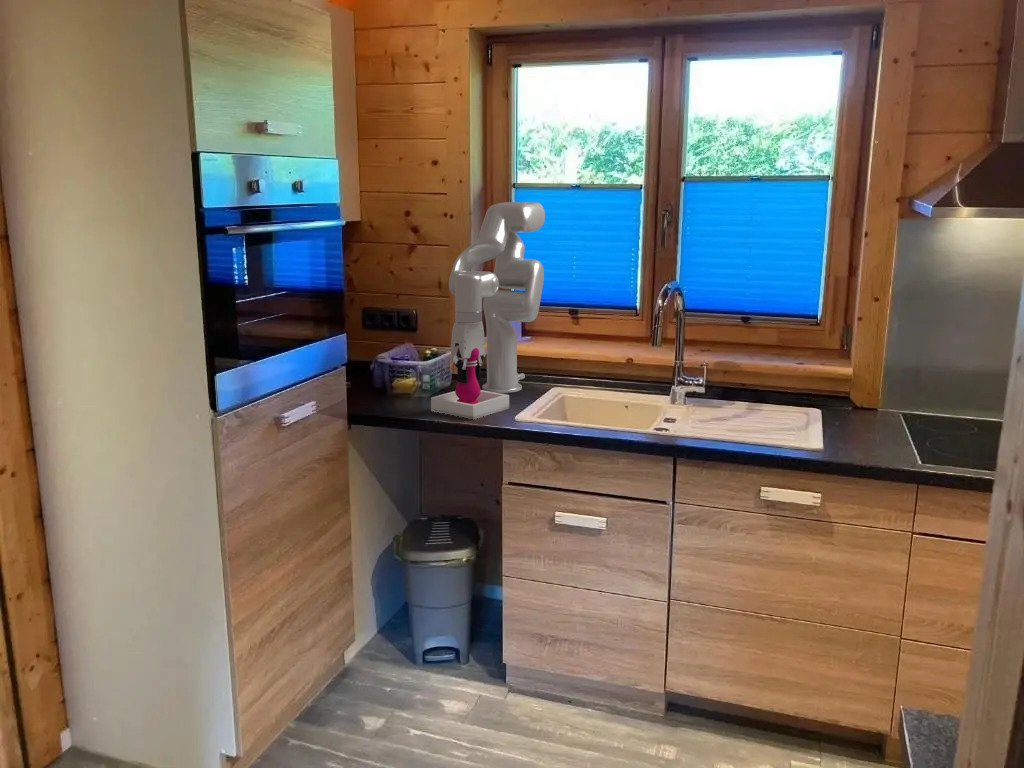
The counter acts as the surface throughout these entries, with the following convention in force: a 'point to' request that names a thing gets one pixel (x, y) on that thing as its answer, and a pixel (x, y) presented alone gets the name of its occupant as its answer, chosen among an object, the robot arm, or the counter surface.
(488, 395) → the tray
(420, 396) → the counter surface
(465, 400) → the pepper mill
